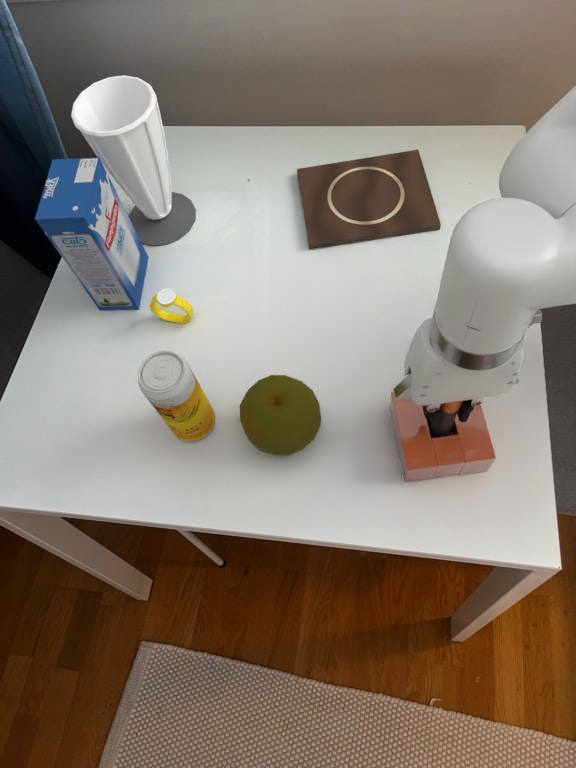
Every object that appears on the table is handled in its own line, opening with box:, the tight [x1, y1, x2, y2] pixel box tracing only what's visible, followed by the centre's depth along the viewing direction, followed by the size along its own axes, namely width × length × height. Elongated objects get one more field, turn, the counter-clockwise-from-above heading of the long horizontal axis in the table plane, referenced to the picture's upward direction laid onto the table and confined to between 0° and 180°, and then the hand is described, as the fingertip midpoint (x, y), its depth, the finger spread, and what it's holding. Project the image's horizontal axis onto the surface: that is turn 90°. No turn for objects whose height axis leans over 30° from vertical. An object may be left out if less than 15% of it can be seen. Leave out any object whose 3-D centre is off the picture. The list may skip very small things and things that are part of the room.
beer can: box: [137, 350, 216, 443], centre depth 71 cm, size 6×6×15 cm
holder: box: [388, 391, 497, 484], centre depth 71 cm, size 10×10×5 cm
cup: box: [70, 75, 197, 247], centre depth 85 cm, size 12×12×22 cm
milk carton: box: [34, 156, 149, 311], centre depth 81 cm, size 10×6×20 cm, turn 178°
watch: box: [149, 287, 194, 325], centre depth 83 cm, size 6×3×6 cm, turn 78°
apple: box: [238, 374, 322, 456], centre depth 71 cm, size 10×10×11 cm
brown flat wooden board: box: [296, 149, 442, 250], centre depth 91 cm, size 20×16×1 cm
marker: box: [429, 401, 463, 439], centre depth 67 cm, size 2×2×14 cm
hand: (445, 411), depth 66 cm, fingers closed on marker, 2 cm apart
